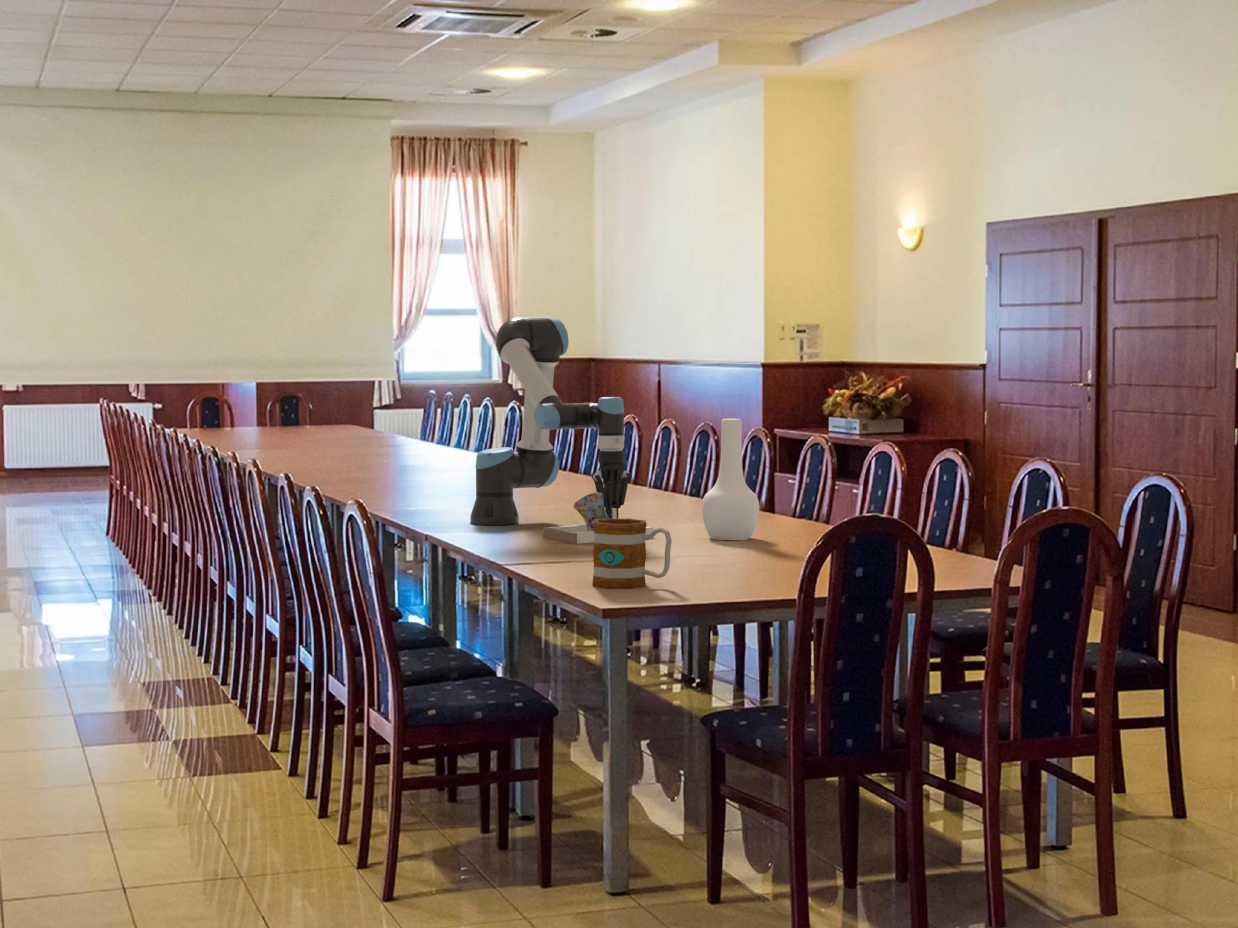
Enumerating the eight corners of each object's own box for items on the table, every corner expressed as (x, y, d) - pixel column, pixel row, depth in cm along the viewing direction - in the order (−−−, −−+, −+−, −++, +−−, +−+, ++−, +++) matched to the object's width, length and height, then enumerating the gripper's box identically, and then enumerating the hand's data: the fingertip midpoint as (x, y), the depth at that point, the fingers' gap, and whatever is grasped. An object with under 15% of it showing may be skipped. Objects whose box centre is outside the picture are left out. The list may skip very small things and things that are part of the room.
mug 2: (581, 586, 372) (581, 523, 370) (602, 579, 384) (603, 517, 383) (661, 592, 365) (661, 527, 363) (679, 584, 377) (680, 521, 376)
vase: (734, 543, 453) (736, 421, 451) (689, 538, 465) (691, 418, 462) (770, 538, 466) (772, 419, 463) (725, 533, 477) (727, 417, 474)
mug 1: (618, 530, 459) (604, 498, 456) (589, 543, 459) (574, 511, 456) (613, 517, 471) (599, 486, 467) (584, 530, 470) (570, 498, 467)
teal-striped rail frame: (537, 536, 466) (537, 525, 465) (615, 530, 482) (616, 520, 482) (579, 544, 448) (579, 533, 447) (659, 538, 464) (659, 527, 464)
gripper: (600, 451, 458) (601, 532, 460) (636, 449, 466) (637, 529, 468) (585, 450, 464) (586, 530, 466) (621, 448, 472) (622, 527, 474)
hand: (612, 530), depth 467 cm, fingers closed
